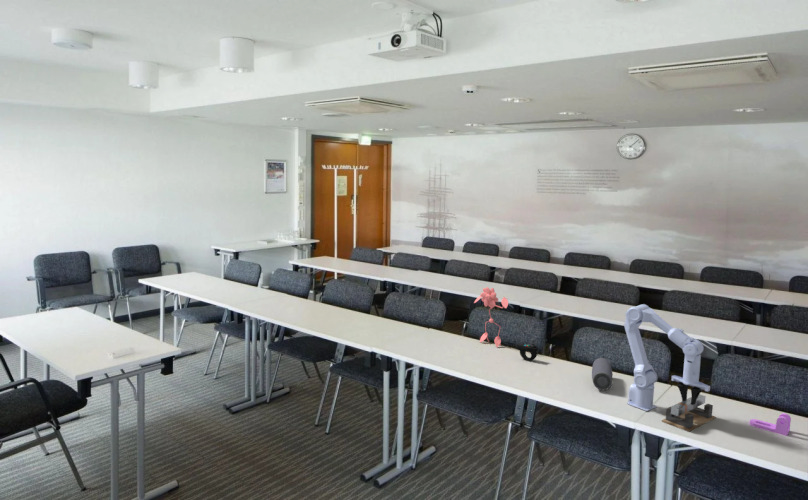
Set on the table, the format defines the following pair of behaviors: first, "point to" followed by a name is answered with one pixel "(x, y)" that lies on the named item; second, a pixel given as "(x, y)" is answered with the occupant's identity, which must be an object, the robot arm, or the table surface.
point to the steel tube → (686, 405)
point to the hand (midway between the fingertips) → (688, 402)
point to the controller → (524, 348)
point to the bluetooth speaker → (602, 374)
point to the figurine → (490, 300)
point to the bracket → (780, 426)
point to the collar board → (696, 420)
